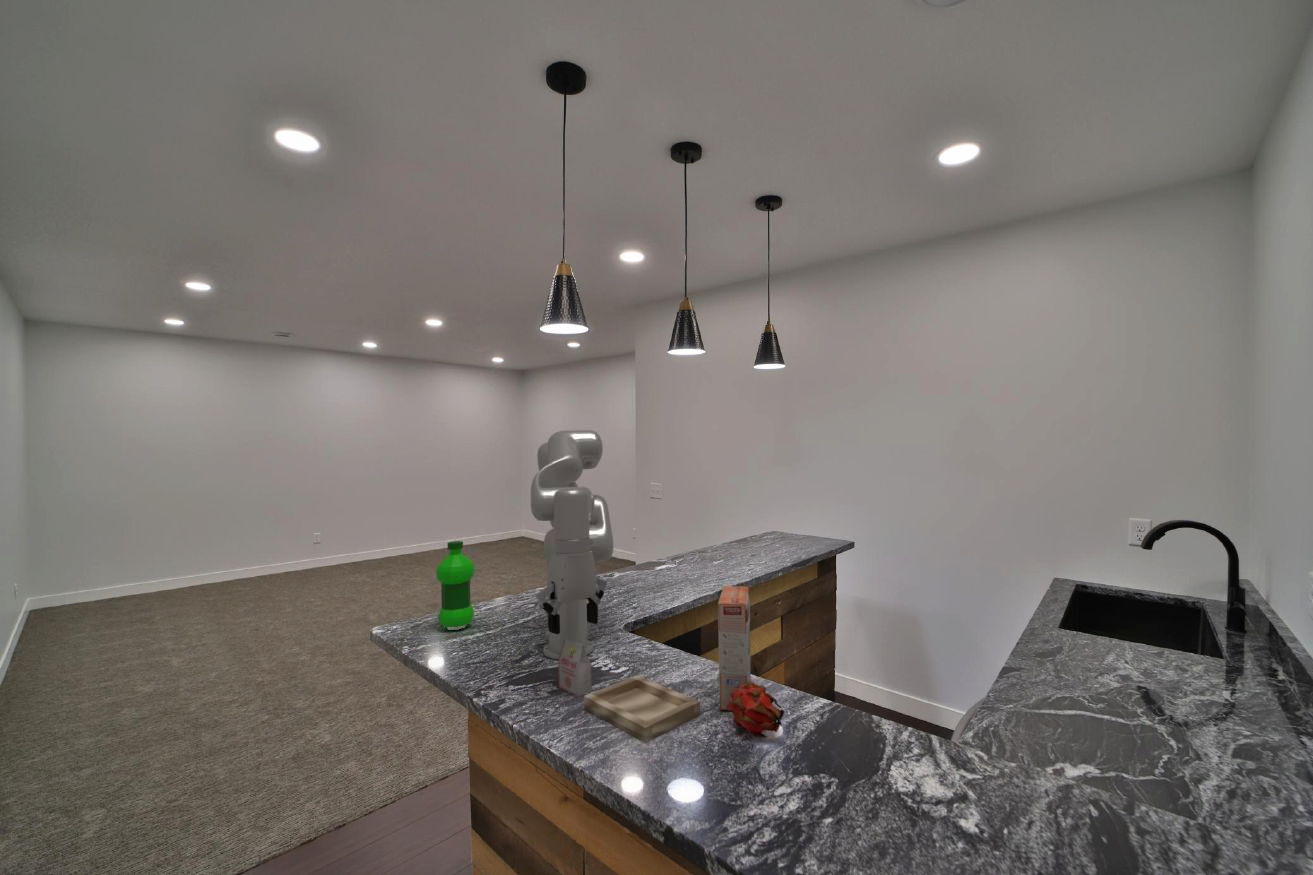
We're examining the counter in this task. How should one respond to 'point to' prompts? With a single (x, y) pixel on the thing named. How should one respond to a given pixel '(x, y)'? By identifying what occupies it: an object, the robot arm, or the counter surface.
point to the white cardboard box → (574, 669)
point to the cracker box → (733, 641)
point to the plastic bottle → (455, 587)
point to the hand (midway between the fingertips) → (573, 627)
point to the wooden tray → (642, 707)
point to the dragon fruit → (755, 709)
